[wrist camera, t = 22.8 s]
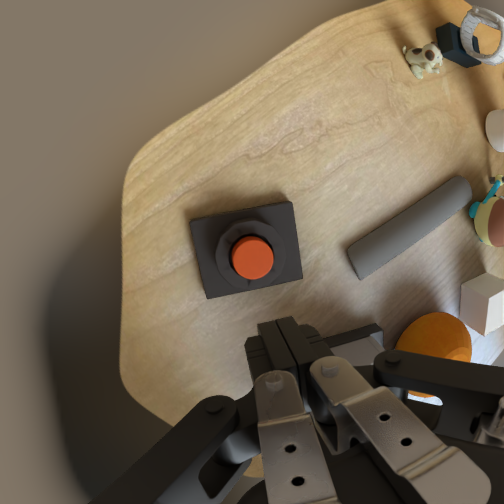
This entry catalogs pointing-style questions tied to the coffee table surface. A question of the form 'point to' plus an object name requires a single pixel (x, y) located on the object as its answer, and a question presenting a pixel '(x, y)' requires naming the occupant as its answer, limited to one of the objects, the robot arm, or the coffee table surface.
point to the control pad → (240, 226)
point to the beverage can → (496, 129)
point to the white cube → (482, 303)
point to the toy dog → (424, 59)
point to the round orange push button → (252, 257)
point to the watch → (470, 39)
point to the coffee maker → (354, 354)
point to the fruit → (437, 339)
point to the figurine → (490, 215)
